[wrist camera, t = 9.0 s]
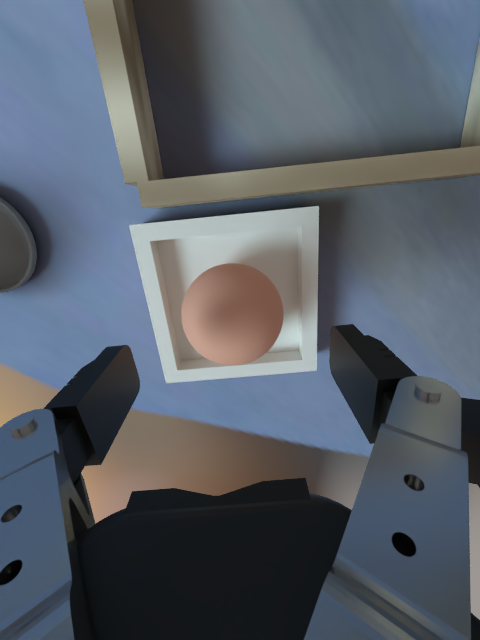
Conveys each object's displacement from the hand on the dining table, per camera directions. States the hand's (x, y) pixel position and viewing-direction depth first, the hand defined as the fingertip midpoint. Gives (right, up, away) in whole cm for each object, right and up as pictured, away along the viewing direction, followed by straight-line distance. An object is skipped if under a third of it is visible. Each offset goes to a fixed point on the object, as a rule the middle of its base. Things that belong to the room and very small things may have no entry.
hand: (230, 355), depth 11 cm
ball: (0, +3, +8) cm, 9 cm away
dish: (0, +3, +9) cm, 9 cm away
